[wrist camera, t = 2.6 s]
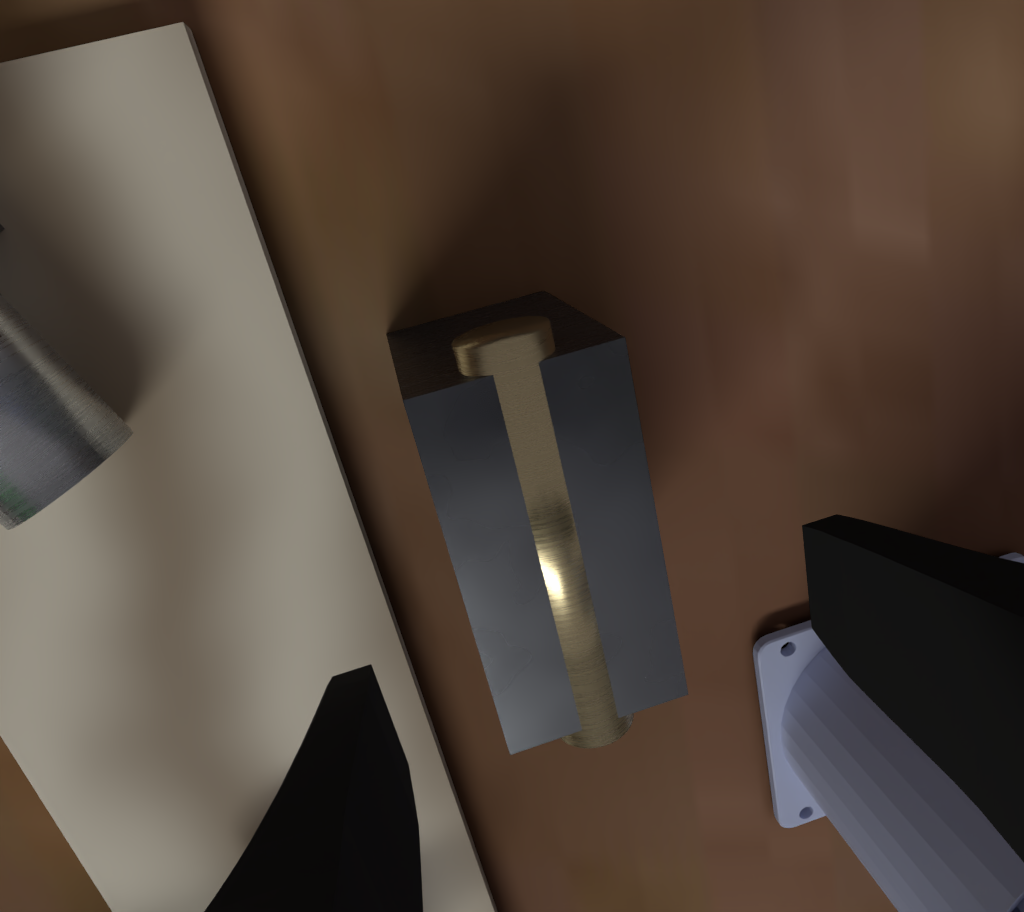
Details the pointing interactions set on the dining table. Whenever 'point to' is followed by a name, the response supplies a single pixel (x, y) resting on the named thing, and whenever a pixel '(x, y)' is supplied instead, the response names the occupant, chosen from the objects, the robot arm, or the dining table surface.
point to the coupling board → (180, 498)
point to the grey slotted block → (545, 514)
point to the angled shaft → (45, 422)
